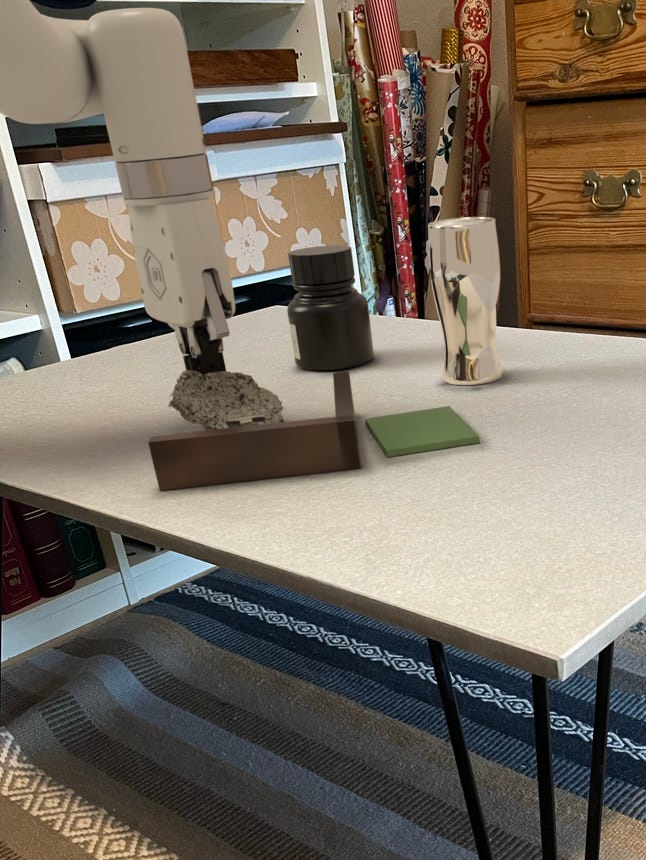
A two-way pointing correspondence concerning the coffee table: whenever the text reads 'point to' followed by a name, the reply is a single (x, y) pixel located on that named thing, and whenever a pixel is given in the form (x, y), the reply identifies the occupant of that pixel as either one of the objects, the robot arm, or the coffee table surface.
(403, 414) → the green tile
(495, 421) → the coffee table surface
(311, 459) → the corner stop
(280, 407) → the rock sample
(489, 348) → the beer glass
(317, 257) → the ink bottle
